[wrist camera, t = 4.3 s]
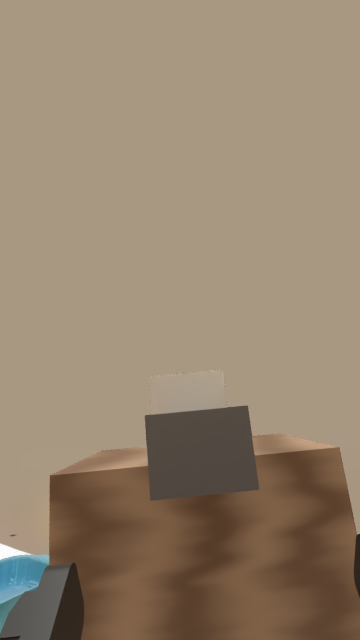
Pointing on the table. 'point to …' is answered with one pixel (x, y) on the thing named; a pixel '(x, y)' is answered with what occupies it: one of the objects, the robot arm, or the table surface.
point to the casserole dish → (18, 579)
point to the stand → (211, 549)
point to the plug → (197, 438)
